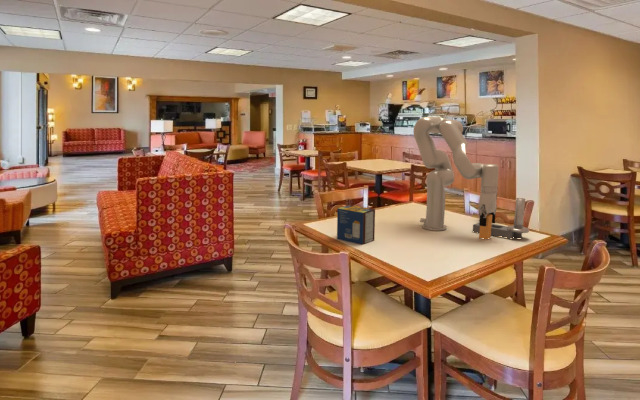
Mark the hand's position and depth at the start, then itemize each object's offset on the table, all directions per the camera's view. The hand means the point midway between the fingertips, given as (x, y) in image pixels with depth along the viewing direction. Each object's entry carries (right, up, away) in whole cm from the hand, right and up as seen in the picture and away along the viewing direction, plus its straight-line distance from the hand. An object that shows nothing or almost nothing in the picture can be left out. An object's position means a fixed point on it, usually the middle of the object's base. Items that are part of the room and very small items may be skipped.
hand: (487, 224), depth 207 cm
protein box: (-65, -8, -2) cm, 65 cm away
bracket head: (+8, -6, +10) cm, 14 cm away
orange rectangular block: (-1, -7, +2) cm, 7 cm away
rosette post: (+16, -7, +2) cm, 17 cm away
